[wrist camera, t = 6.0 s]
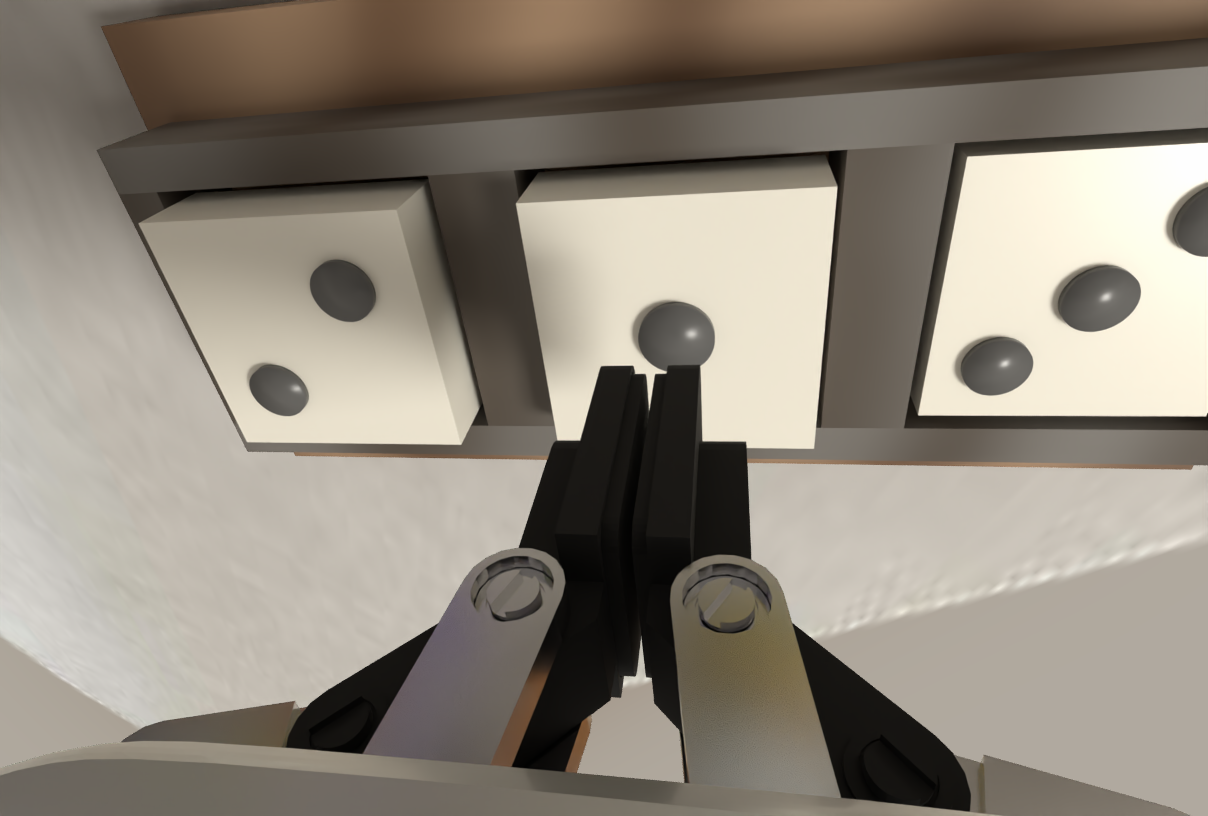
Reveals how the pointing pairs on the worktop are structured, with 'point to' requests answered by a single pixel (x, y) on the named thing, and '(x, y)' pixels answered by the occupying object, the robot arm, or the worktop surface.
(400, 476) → the worktop surface
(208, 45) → the button panel
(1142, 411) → the three-dot button
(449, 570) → the worktop surface
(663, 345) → the one-dot button
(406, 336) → the two-dot button
